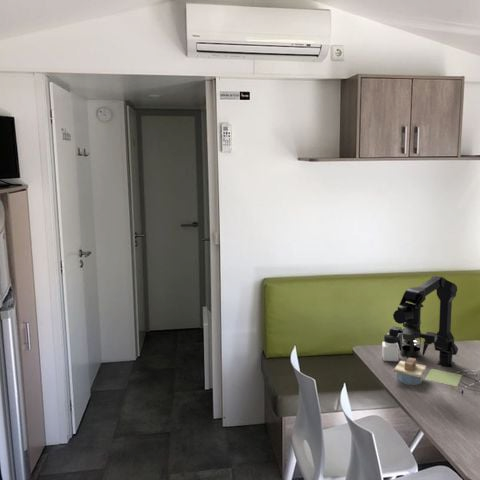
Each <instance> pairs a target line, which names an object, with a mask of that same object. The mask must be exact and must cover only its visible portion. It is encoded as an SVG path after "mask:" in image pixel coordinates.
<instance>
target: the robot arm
mask: <svg viewBox="0 0 480 480" xmlns="http://www.w3.org/2000/svg"><path fill="white" fill-rule="evenodd" d="M434 291H436V296H437V298H438V300H439V319H438V320H439V321H438V322H439V323H438V332H432V331H427V332H425V333H422V331H421V324H420V322H421V323H422V321H421V320H422V319H421V315H422V313H421V312H422V308H424V304H423V303H424V302H425V300H426V297H427V296H429V294H431V293H432V292H434ZM457 292H458V287H457V285H456V284H455V283H454V282H452V281H450V280H447V279H446V278H444V277H442V276H437V275H434V276H433V275H432V277H431V278H430V279H428V280H426V281H425V282H423V283H422V284H421V285H419V286H414V287H410V288H407V289H406V290H405V291H404V293H403V295H402V298H401V299H400V302H399V306H398V307H397V309H396V310H395V311H394V312H393V314H392V317H393V320H394V321H395V323H397V324H398V325H401V324H402V325H403V323H405V322H406V324H405V327H403V328H402V327H401V326H392V327H391V328H390V329H389V330H388V331H389V332H388V334H389V335H390V336H392V338H395V339H396V341H397V343H398V346H399V352H402V346H403V344H402V340H410V341H415V340H416V339H420V338H421V339H424V341H423V346H422V347H423V348H422V357H424V356H425V353H426V351H427V349H428V347H429V345H432V344H433V345H434V350H435V351H438V352H439V354H438V361H437V364H436V365H438V366H443V367H447V368H453V366H454V364H455V361H453V356H457V353H458V351H459V348H458V346H457V345H456V343H455V337H454V335H453V334H452V332H451V328H452V308H453V307H452V306H453V305H452V303H453V300H454V299H455V298H456V297H457ZM402 329H404V330H402Z"/></svg>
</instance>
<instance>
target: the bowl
mask: <svg viewBox="0 0 480 480" xmlns="http://www.w3.org/2000/svg"><path fill="white" fill-rule="evenodd" d="M396 379H397V381H398V382H400V383H402V384H404V385H407V386H408V385H409V386H418V385H420V384H423V380H424V373H423V374H422V376H421V377H417V376H412V375H407V374H402V373H398V372H396Z"/></svg>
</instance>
